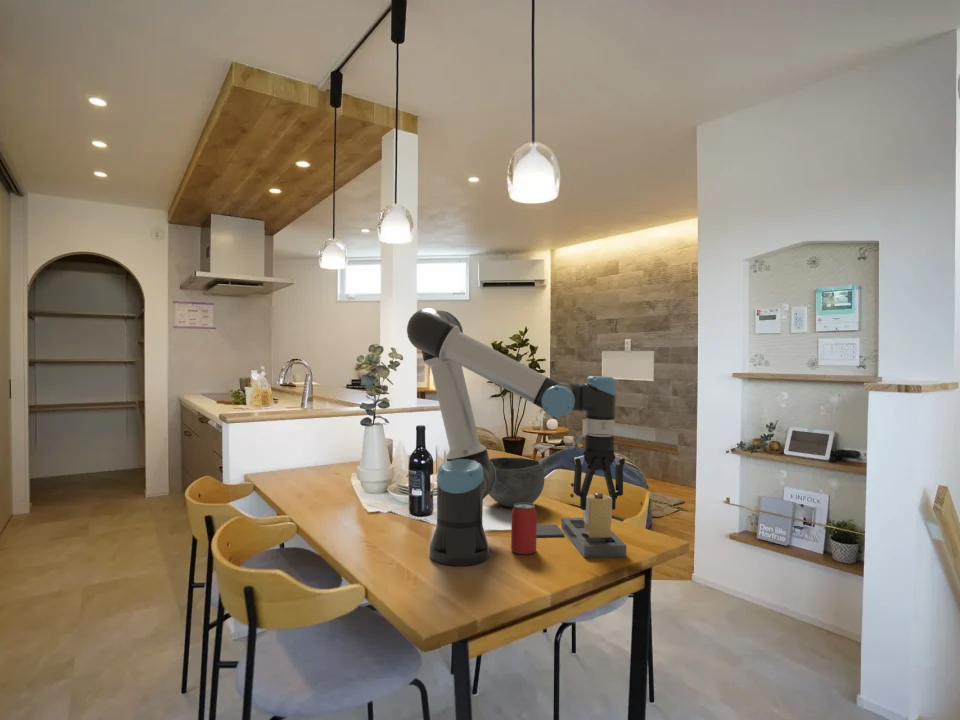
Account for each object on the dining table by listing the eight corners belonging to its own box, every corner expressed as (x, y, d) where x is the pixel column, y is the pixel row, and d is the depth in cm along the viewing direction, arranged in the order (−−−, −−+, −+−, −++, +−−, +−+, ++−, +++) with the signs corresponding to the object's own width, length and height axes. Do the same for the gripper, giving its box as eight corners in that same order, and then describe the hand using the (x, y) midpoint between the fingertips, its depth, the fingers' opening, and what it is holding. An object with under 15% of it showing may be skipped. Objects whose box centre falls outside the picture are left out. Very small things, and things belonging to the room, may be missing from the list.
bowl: (483, 496, 199) (483, 455, 199) (541, 498, 198) (542, 456, 198) (480, 513, 178) (481, 467, 178) (546, 515, 177) (547, 468, 177)
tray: (584, 558, 141) (584, 546, 141) (561, 528, 164) (561, 518, 164) (626, 557, 142) (626, 545, 142) (597, 527, 166) (597, 517, 165)
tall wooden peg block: (590, 537, 144) (591, 496, 144) (584, 531, 150) (585, 491, 149) (610, 537, 145) (611, 496, 144) (603, 530, 150) (604, 491, 150)
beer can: (505, 550, 146) (506, 504, 145) (523, 544, 150) (524, 500, 150) (523, 557, 140) (524, 510, 140) (541, 551, 145) (542, 506, 145)
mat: (532, 537, 156) (532, 535, 156) (527, 527, 165) (527, 525, 165) (564, 536, 157) (564, 534, 157) (556, 526, 166) (556, 524, 166)
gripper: (569, 436, 142) (566, 526, 142) (638, 437, 144) (636, 526, 144) (562, 432, 150) (559, 517, 150) (628, 432, 151) (625, 517, 152)
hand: (597, 521), depth 147 cm, fingers closed on tall wooden peg block, 5 cm apart
